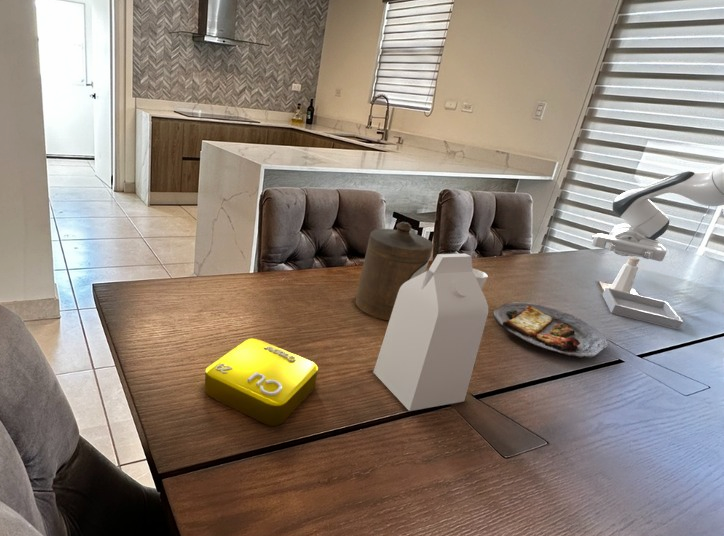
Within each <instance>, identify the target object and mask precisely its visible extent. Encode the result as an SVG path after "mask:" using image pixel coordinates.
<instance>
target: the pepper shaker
mask: <svg viewBox="0 0 724 536" xmlns="http://www.w3.org/2000/svg"><path fill="white" fill-rule="evenodd" d="M639 262H640V258H639V257H636V256H628V259H627V261H626V263H623V265H622V266H621V268H620V270H619V271H618V273H617V275H616V276H615V278H614V280H613V282H612V283H611V284H612V285H611V287H610V288H611V289H615V290H619V291H623V292H627V293H630V292H631V289H633V285H634V282H635V278H636V276H637V273H638V269H639V267H638V264H639Z"/></svg>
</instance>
